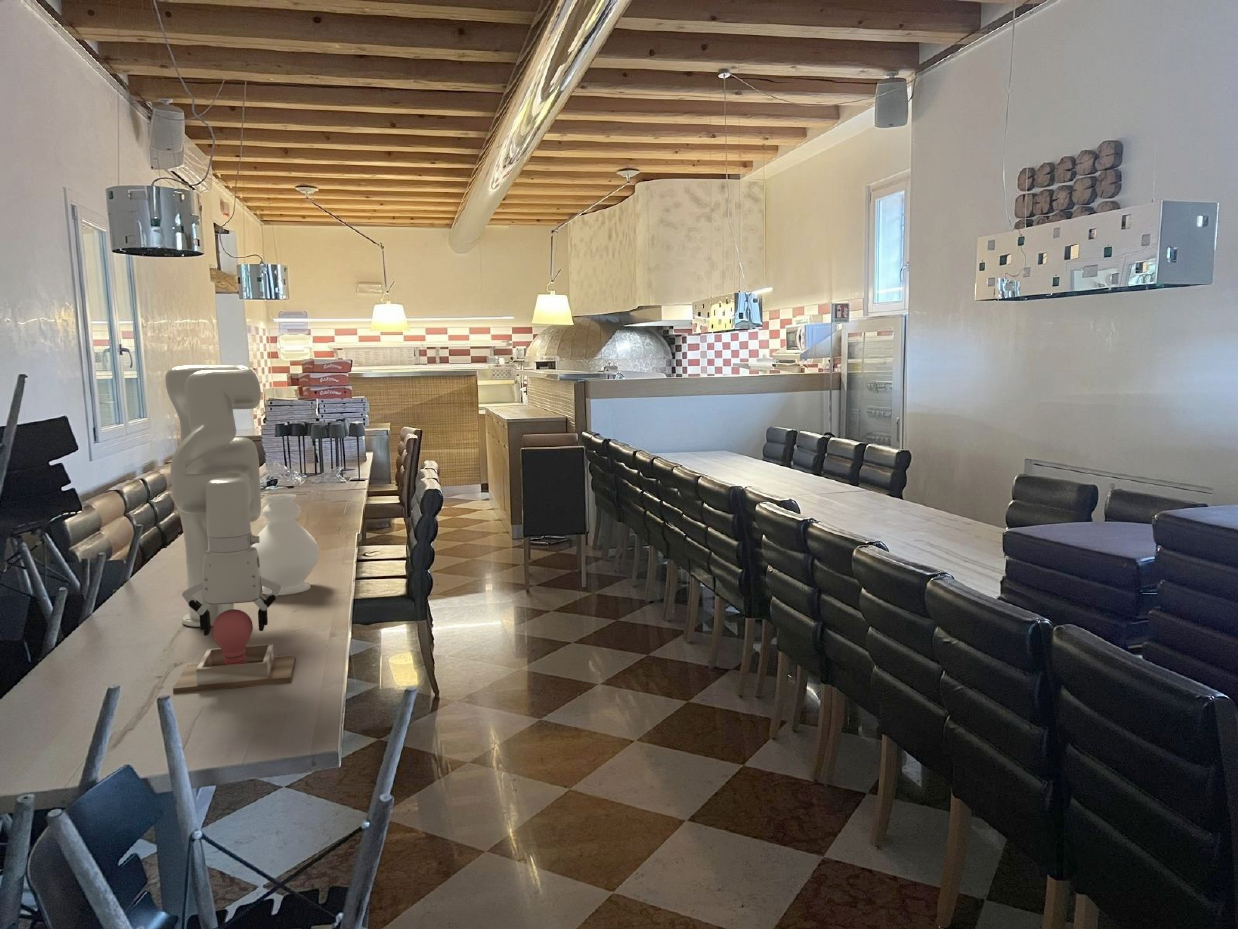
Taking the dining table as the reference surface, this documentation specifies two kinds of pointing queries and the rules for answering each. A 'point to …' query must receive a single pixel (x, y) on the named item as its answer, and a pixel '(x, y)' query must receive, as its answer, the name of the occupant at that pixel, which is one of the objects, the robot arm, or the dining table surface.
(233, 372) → the robot arm
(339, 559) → the dining table surface
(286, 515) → the decorative vase
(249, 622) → the light bulb
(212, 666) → the bulb holder
